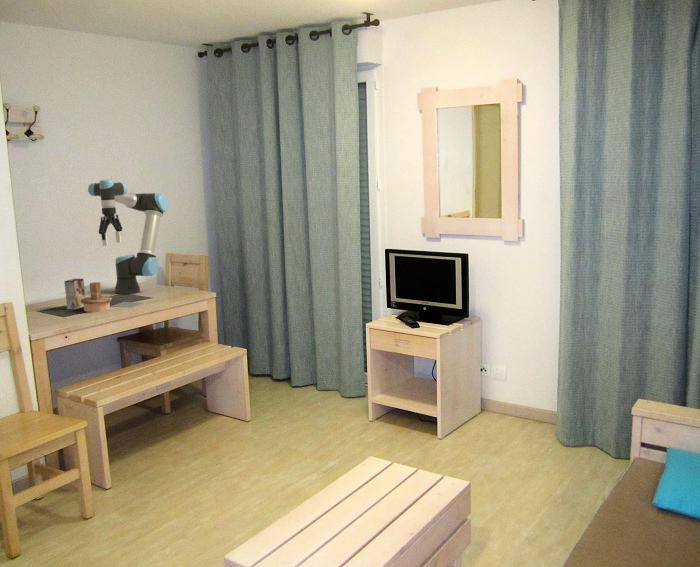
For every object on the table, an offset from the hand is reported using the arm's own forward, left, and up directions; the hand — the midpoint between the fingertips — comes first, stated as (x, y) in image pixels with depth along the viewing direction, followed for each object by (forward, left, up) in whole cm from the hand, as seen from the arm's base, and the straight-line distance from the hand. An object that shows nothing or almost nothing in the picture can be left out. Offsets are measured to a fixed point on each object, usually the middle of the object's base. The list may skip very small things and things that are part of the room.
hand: (112, 244), depth 397 cm
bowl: (+23, +3, -34) cm, 41 cm away
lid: (+23, +3, -29) cm, 37 cm away
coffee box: (+19, -13, -34) cm, 41 cm away
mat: (+9, +13, -34) cm, 37 cm away
